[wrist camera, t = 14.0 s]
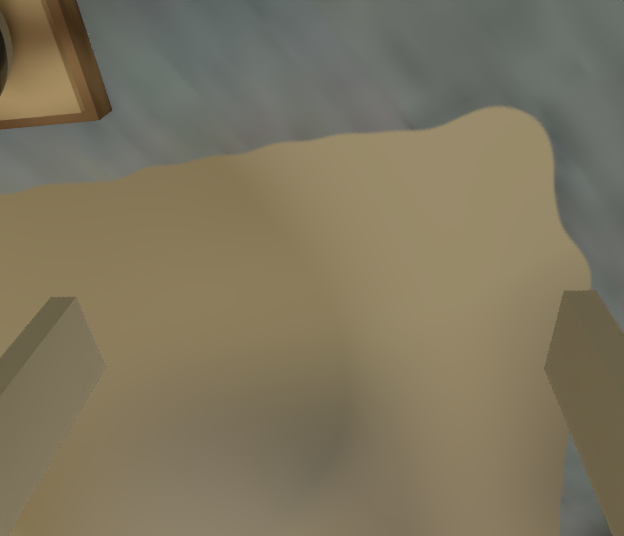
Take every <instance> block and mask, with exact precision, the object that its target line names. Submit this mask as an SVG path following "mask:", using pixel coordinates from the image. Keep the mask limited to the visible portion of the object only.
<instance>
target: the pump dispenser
mask: <svg viewBox="0 0 624 536" xmlns="http://www.w3.org/2000/svg"><path fill="white" fill-rule="evenodd" d="M12 60H13V48H12V40H11V36H10V32H9V29H8V26H7V23H6V21H5V18H4V16H3V14H2V12H1V10H0V96H1V94H2V92H3V90H4V87H5V84H6V82H7V79H8V77H9V74H10V71H11V67H12Z"/></svg>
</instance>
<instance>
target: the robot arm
mask: <svg viewBox="0 0 624 536" xmlns="http://www.w3.org/2000/svg"><path fill="white" fill-rule="evenodd" d="M105 368H106V365H105V363H104V360H103V358H102V356H101V353H100V351H99V349H98V346H97V344H96V342H95V339H94V337H93V335H92V332H91V330H90V328H89V325H88V323H87V321H86V318H85V316H84V314H83V311H82V309H81V307H80V304H79V302H78V300H77V298H76V297H51V298H50V299H49V300H48V301H47V302H46V304H45V305H44V306H43V307H42V308H41V310H40V311H39V312H38V313H37V314H36V316H35V317H34V318H33V319H32V320H31V322H30V323H29V324H28V325H27V326H26V328H25V329H24V330H23V331H22V332H21V334H20V335H19V336H18V338H16V340H15V341H14V342H13V343H12V344H11V346H10V347H9V348H8V349H7V350H6V352H5V353H4V354H3V355H2V357H1V358H0V536H9V534H10V532H11V531H12V529H13V527H14V526H15V524H16V522H17V520H18V519H19V517H20V515H21V513H22V512H23V510H24V508H25V506H26V505H27V503H28V501H29V500H30V498H31V496H32V494H33V493H34V491H35V489H36V487H37V486H38V484H39V482H40V480H41V479H42V477H43V475H44V473H45V472H46V470H47V468H48V466H49V465H50V463H51V461H52V459H53V458H54V456H55V454H56V452H57V451H58V449H59V447H60V446H61V444H62V442H63V440H64V439H65V437H66V435H67V433H68V432H69V430H70V429H71V427H72V425H73V423H74V422H75V420H76V418H77V416H78V415H79V413H80V411H81V409H82V408H83V406H84V404H85V402H86V401H87V399H88V397H89V396H90V394H91V392H92V390H93V389H94V387H95V385H96V383H97V382H98V380H99V378H100V377H101V374H102V373H103V371H104V370H105ZM544 369H545V372H546V374H547V376H548V379H549V381H550V384H551V386H552V389H553V391H554V394H555V396H556V399H557V401H558V404H559V406H560V408H561V411H562V413H563V416H564V418H565V421H566V423H567V426H568V428H569V430H570V433H571V435H572V438H573V440H574V443H575V445H576V448H577V450H578V452H579V455H580V457H581V460H582V462H583V465H584V467H585V470H586V472H587V474H588V477H589V479H590V482H591V484H592V487H593V489H594V492H595V494H596V496H597V499H598V501H599V504H600V506H601V509H602V511H603V514H604V516H605V518H606V521H607V523H608V526H609V528H610V531H611V533H612V536H624V334H623V332H622V331H621V329H620V328H619V326H618V324H617V323H616V321H615V320H614V318H613V317H612V315H611V313H610V312H609V310H608V309H607V307H606V306H605V304H604V302H603V301H602V299H601V298H600V296H599V295H598V293H597V291H596V290H587V291H564V292H563V296H562V300H561V305H560V308H559V312H558V316H557V320H556V324H555V328H554V332H553V336H552V340H551V343H550V347H549V351H548V355H547V359H546V363H545V367H544Z"/></svg>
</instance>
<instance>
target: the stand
mask: <svg viewBox="0 0 624 536" xmlns="http://www.w3.org/2000/svg"><path fill="white" fill-rule="evenodd" d="M0 10H1V12H2V14H3V16H4V18H5V21H6V23H7V26H8V29H9V32H10V36H11V40H12V48H13V60H12V67H11V71H10V74H9V77H8V79H7V82H6V84H5V87H4V90H3V92H2V94H1V96H0V129H10V128H21V127H32V126H42V125H53V124H64V123H74V122H85V121H96V120H100V119H101V118H103V117H104V116H105V115H107V114H108V113H109V112H111V111H112V108H111V105H110V102H109V99H108V96H107V93H106V90H105V87H104V84H103V81H102V78H101V75H100V72H99V69H98V66H97V63H96V60H95V57H94V54H93V51H92V47H91V44H90V41H89V38H88V35H87V32H86V29H85V26H84V23H83V20H82V17H81V14H80V11H79V8H78V5H77V2H76V0H0Z"/></svg>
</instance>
